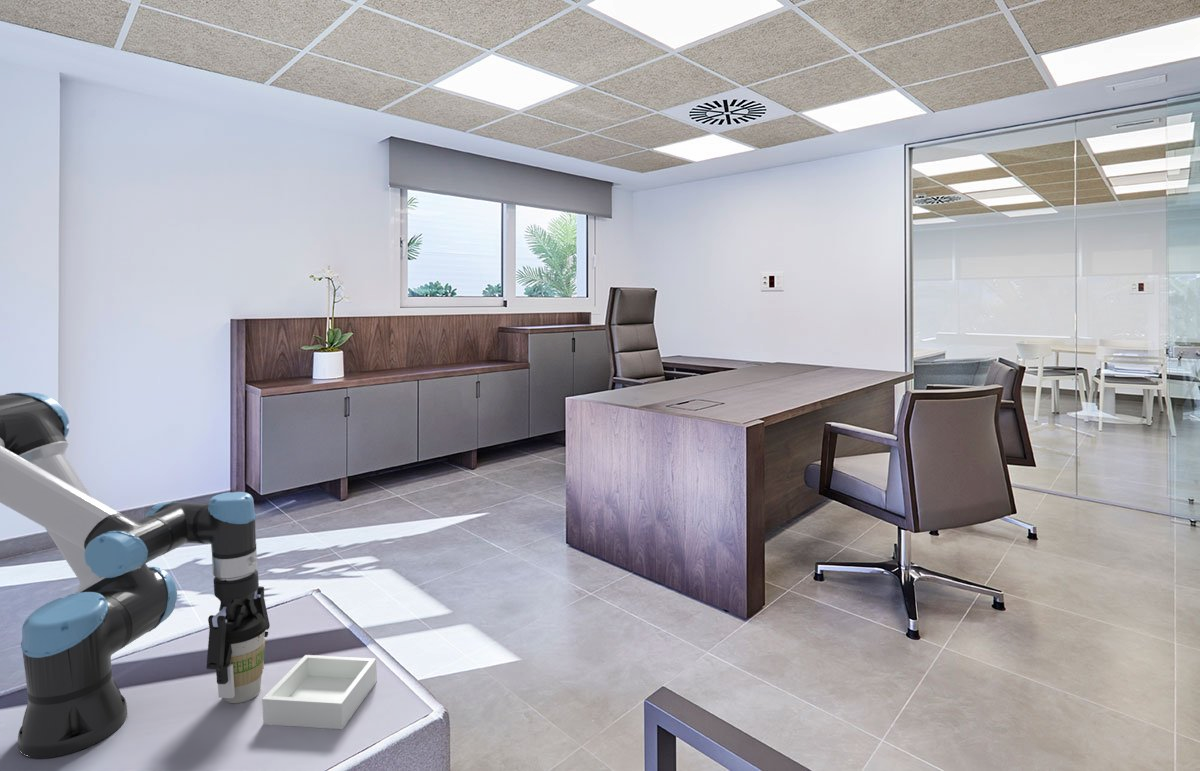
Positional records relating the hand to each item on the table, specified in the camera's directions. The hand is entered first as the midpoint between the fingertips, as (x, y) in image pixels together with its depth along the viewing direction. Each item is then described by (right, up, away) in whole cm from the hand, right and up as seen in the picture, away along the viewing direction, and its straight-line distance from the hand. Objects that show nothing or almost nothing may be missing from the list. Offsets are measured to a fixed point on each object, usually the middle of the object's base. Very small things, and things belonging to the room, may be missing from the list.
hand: (242, 682), depth 126 cm
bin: (+17, -3, -2) cm, 17 cm away
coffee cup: (0, -3, 0) cm, 3 cm away
